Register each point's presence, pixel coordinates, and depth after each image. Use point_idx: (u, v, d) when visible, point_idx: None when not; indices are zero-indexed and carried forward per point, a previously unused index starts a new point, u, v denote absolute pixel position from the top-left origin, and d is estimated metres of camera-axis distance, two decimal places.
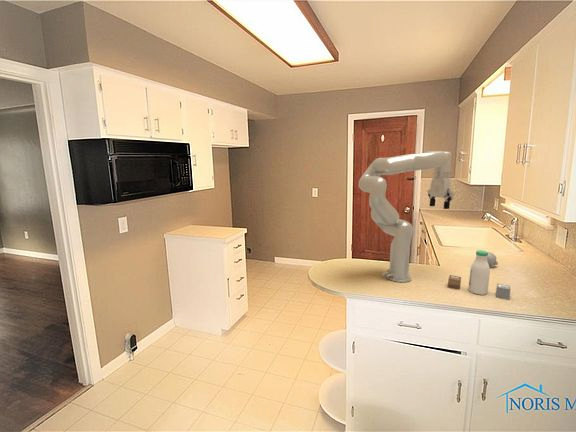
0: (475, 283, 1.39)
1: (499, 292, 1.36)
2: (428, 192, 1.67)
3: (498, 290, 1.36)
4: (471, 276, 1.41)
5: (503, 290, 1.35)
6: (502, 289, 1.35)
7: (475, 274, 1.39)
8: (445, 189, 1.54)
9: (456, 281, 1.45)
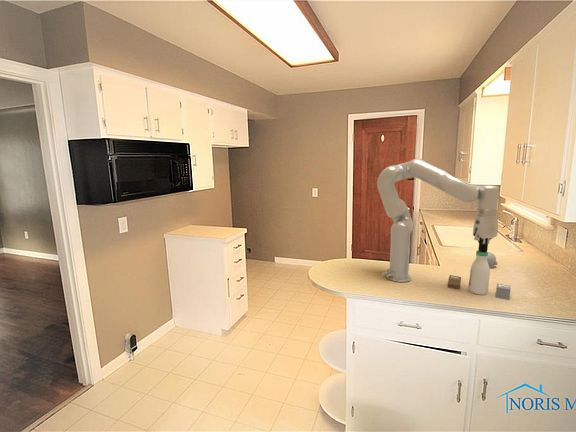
0: (475, 283, 1.39)
1: (499, 292, 1.36)
2: (478, 239, 1.36)
3: (498, 290, 1.36)
4: (471, 276, 1.41)
5: (503, 290, 1.35)
6: (502, 289, 1.35)
7: (475, 274, 1.39)
8: None
9: (456, 281, 1.45)
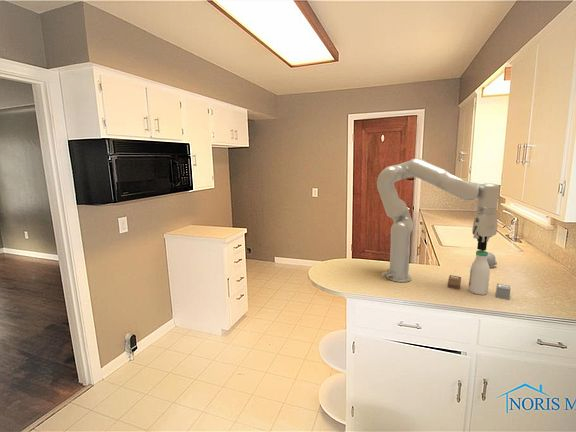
0: (475, 283, 1.39)
1: (499, 292, 1.36)
2: (477, 237, 1.36)
3: (498, 290, 1.36)
4: (471, 276, 1.41)
5: (503, 290, 1.35)
6: (502, 289, 1.35)
7: (475, 274, 1.39)
8: None
9: (456, 281, 1.45)
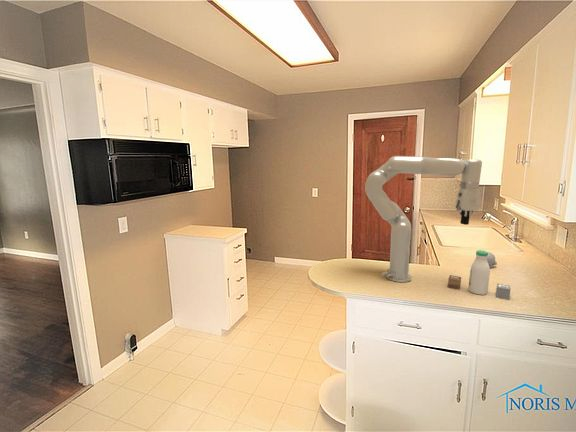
0: (475, 283, 1.39)
1: (499, 292, 1.36)
2: (460, 211, 1.41)
3: (498, 290, 1.36)
4: (471, 276, 1.41)
5: (503, 290, 1.35)
6: (502, 289, 1.35)
7: (475, 274, 1.39)
8: None
9: (456, 281, 1.45)
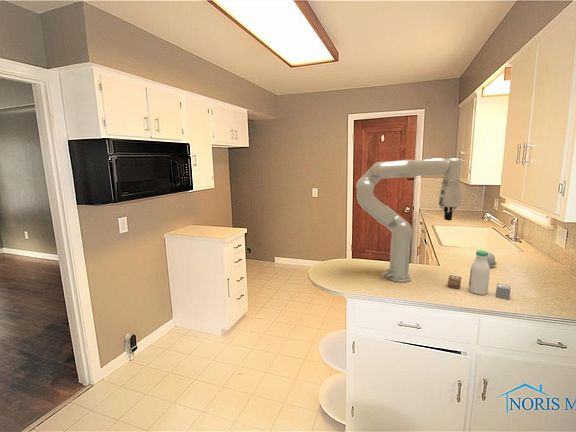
0: (475, 283, 1.39)
1: (499, 292, 1.36)
2: (443, 208, 1.48)
3: (498, 290, 1.36)
4: (471, 276, 1.41)
5: (503, 290, 1.35)
6: (502, 289, 1.35)
7: (475, 274, 1.39)
8: None
9: (456, 281, 1.45)
